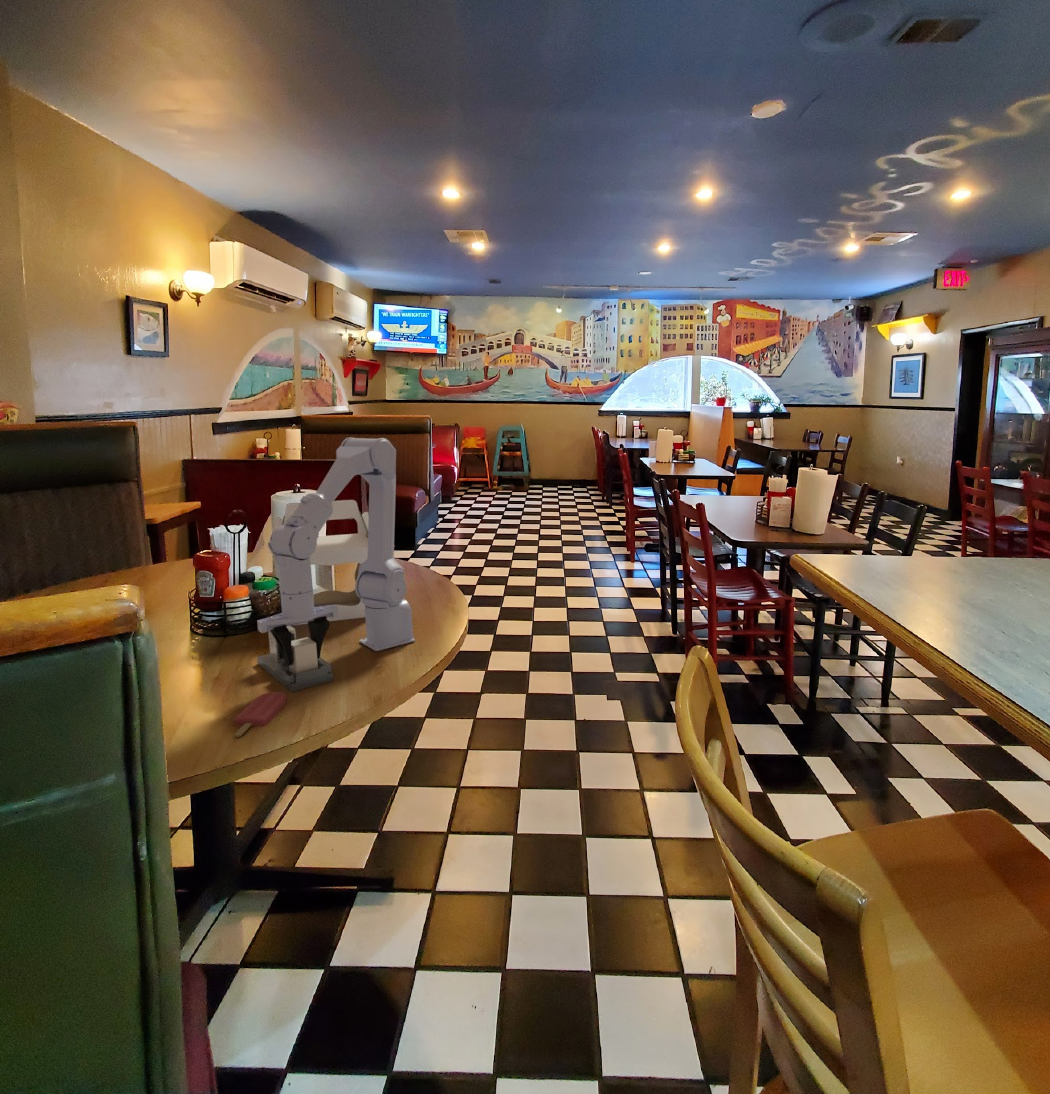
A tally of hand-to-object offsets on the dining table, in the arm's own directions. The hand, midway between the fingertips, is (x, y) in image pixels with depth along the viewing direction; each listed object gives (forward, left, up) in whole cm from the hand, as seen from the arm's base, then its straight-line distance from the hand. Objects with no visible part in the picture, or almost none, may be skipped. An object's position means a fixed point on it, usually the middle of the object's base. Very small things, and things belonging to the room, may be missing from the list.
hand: (302, 660), depth 129 cm
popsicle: (+12, +10, -4) cm, 16 cm away
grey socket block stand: (0, -6, -4) cm, 7 cm away
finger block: (0, 0, -2) cm, 2 cm away
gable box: (-21, -36, -4) cm, 42 cm away
